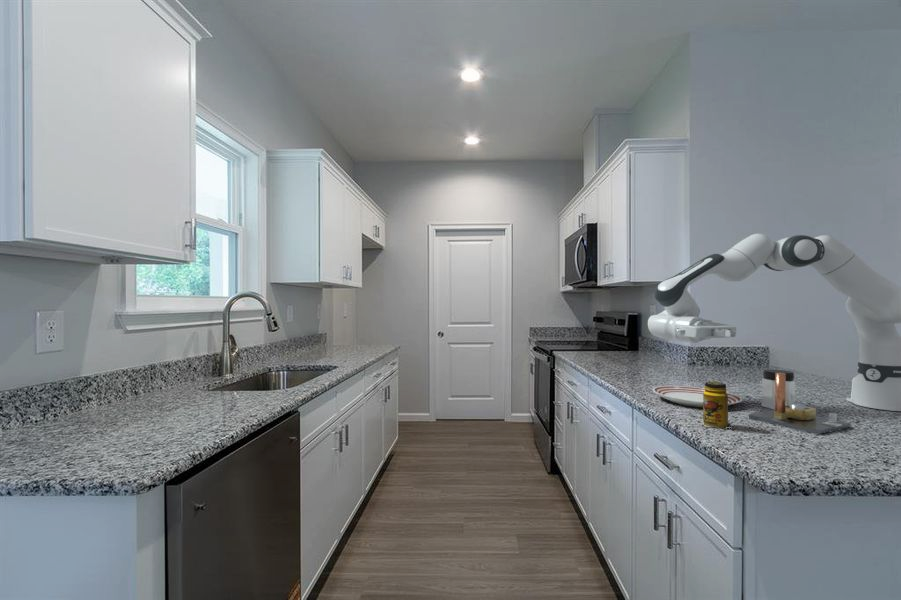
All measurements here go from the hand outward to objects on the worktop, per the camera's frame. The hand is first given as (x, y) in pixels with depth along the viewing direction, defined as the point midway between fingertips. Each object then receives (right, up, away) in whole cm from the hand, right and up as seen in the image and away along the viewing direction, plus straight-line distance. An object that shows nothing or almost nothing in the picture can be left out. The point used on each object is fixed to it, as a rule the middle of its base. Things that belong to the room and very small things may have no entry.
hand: (733, 334), depth 140 cm
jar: (+20, -25, +8) cm, 33 cm away
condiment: (-12, -25, -12) cm, 30 cm away
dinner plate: (-2, -25, +17) cm, 31 cm away
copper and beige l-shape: (+11, -23, -10) cm, 27 cm away
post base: (+12, -25, -10) cm, 29 cm away
